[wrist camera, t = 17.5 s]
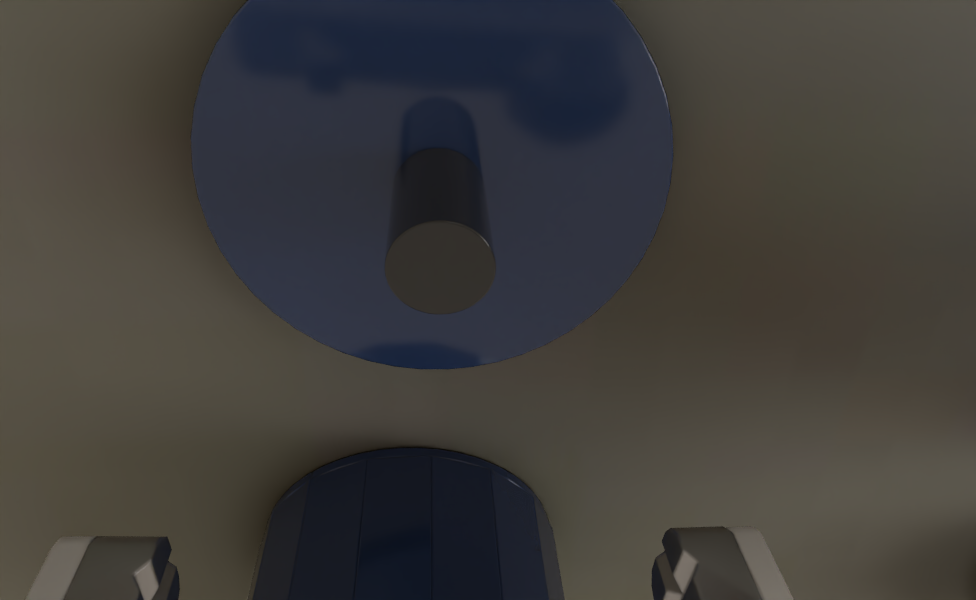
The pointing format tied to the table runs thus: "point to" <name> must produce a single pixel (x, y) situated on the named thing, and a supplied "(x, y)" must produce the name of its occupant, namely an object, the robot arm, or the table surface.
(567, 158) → the lid
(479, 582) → the pot
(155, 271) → the table surface
